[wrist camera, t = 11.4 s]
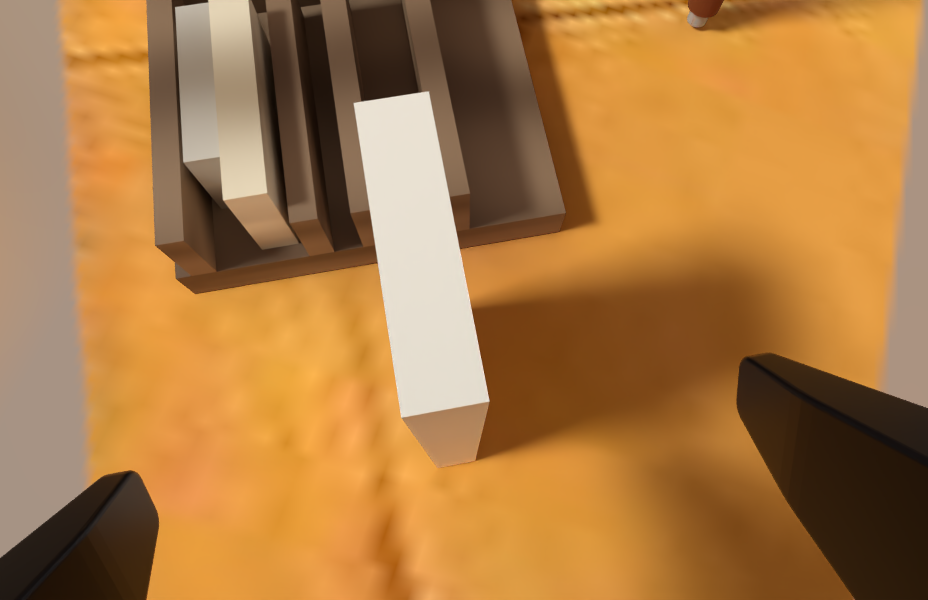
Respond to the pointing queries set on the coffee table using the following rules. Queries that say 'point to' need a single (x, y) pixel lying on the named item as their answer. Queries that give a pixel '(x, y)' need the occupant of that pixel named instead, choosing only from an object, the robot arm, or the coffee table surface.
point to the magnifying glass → (702, 11)
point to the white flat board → (422, 278)
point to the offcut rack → (331, 128)
